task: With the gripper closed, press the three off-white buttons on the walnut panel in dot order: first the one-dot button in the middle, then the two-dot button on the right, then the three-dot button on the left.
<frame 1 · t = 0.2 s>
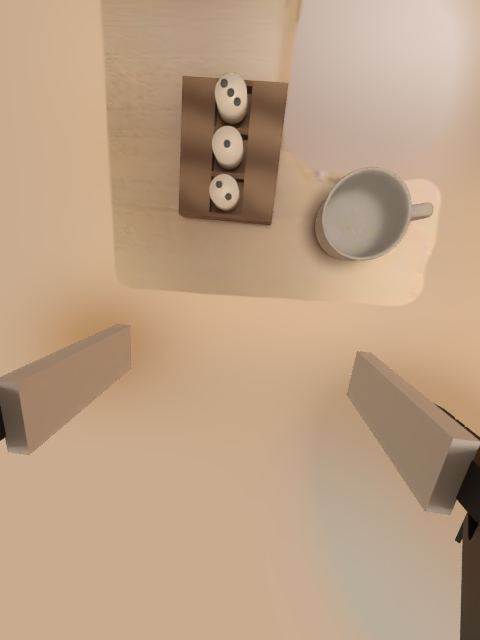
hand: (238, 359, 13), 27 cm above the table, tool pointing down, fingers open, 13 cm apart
button two: (225, 193, 33), point 4 cm above the table, slide at 0.0 cm
button one: (228, 148, 32), point 4 cm above the table, slide at 0.0 cm
teacup: (354, 225, 36), on the table
button three: (231, 99, 30), point 4 cm above the table, slide at 0.0 cm
panel: (231, 160, 35), on the table
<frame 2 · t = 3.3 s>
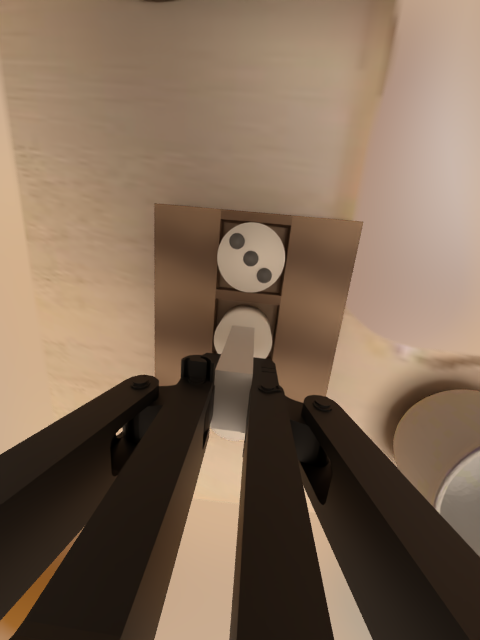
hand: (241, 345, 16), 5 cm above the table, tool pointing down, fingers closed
button two: (236, 406, 18), point 4 cm above the table, slide at 0.0 cm
button one: (243, 335, 17), point 3 cm above the table, slide at 0.8 cm, touching gripper
teacup: (454, 425, 21), on the table
button three: (251, 258, 15), point 4 cm above the table, slide at 0.0 cm
panel: (245, 324, 20), on the table
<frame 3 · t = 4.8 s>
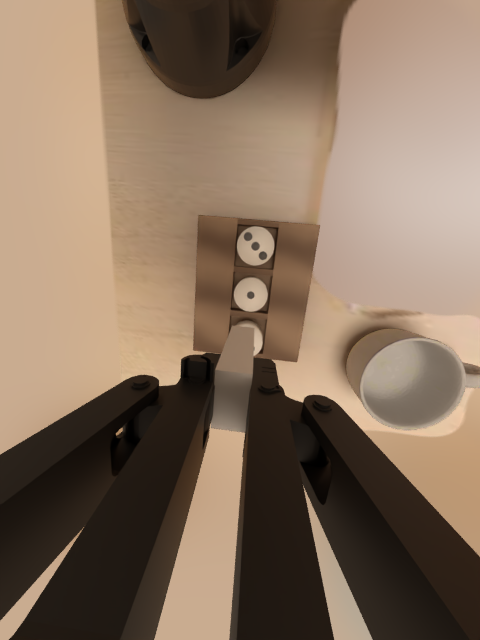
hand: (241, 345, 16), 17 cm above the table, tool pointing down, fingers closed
button two: (246, 338, 29), point 4 cm above the table, slide at 0.0 cm
button one: (251, 293, 29), point 3 cm above the table, slide at 1.3 cm
teacup: (388, 357, 33), on the table
button three: (255, 246, 26), point 4 cm above the table, slide at 0.0 cm
panel: (251, 290, 31), on the table
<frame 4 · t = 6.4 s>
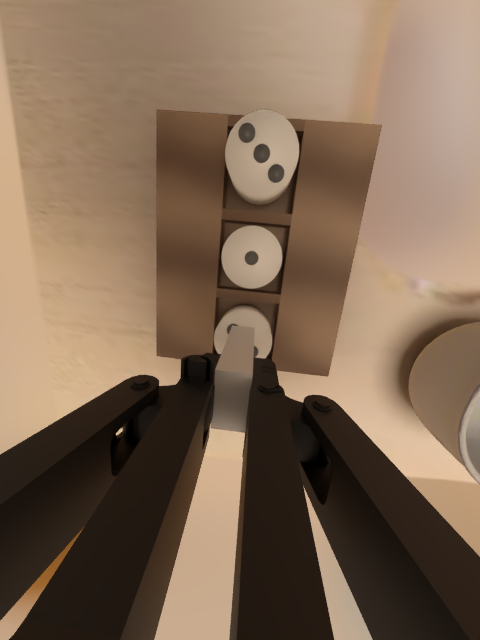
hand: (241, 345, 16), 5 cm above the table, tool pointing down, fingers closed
button two: (243, 334, 17), point 3 cm above the table, slide at 0.5 cm, touching gripper
button one: (252, 258, 17), point 3 cm above the table, slide at 1.3 cm
teacup: (471, 368, 20), on the table
button three: (261, 163, 14), point 4 cm above the table, slide at 0.0 cm
panel: (252, 258, 19), on the table
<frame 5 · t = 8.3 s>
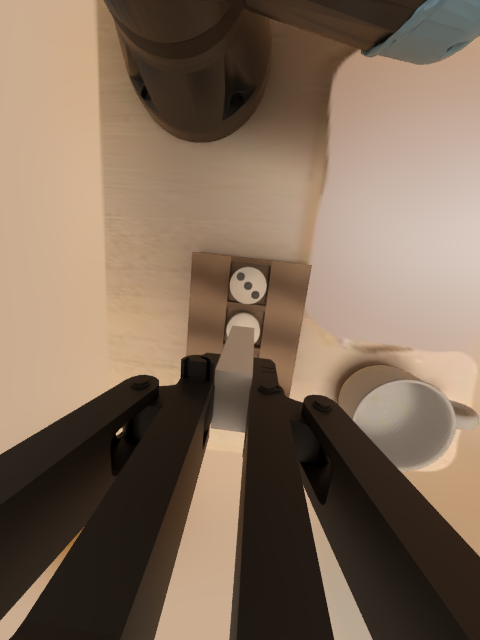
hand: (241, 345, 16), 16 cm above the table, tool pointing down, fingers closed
button one: (243, 328, 29), point 3 cm above the table, slide at 1.3 cm
teacup: (380, 391, 33), on the table
button three: (248, 285, 27), point 4 cm above the table, slide at 0.0 cm
panel: (244, 323, 32), on the table
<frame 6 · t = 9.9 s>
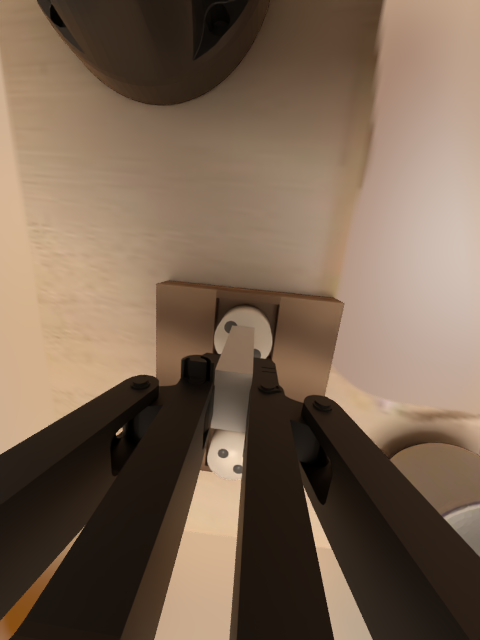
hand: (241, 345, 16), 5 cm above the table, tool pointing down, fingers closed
button two: (232, 448, 21), point 3 cm above the table, slide at 1.3 cm
teacup: (433, 470, 23), on the table
button three: (244, 335, 17), point 3 cm above the table, slide at 0.5 cm, touching gripper
panel: (240, 379, 22), on the table
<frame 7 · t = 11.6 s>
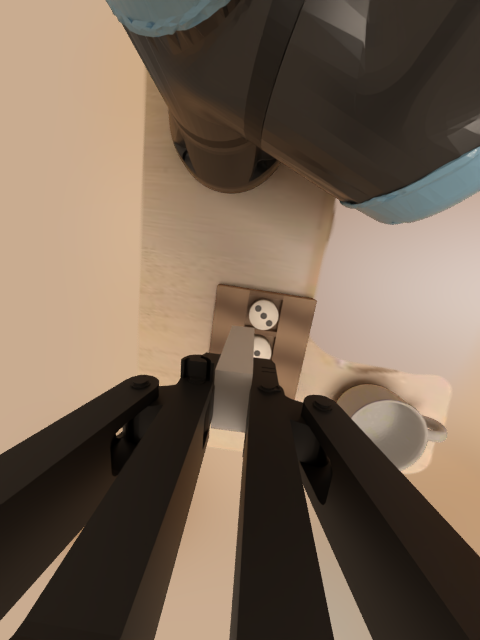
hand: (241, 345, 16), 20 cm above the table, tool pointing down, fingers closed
button one: (257, 349, 34), point 3 cm above the table, slide at 1.3 cm
teacup: (369, 405, 38), on the table
button three: (263, 313, 33), point 3 cm above the table, slide at 1.3 cm
panel: (256, 344, 37), on the table
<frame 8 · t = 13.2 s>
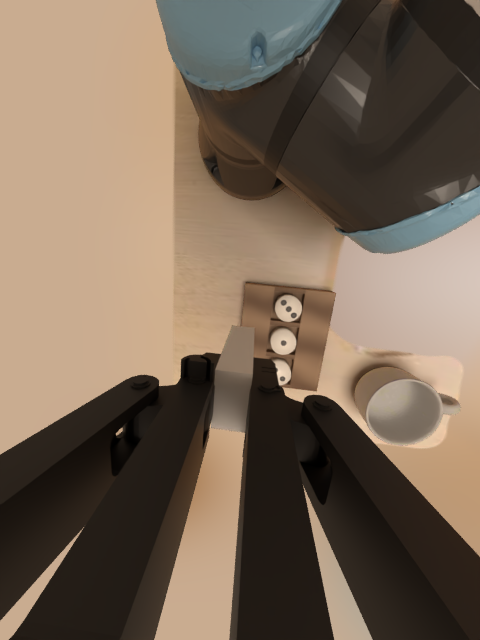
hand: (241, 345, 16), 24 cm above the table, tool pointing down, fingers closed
button two: (278, 370, 40), point 3 cm above the table, slide at 1.3 cm
button one: (282, 340, 38), point 3 cm above the table, slide at 1.3 cm
teacup: (386, 386, 42), on the table
button three: (287, 307, 37), point 3 cm above the table, slide at 1.3 cm
panel: (281, 335, 41), on the table
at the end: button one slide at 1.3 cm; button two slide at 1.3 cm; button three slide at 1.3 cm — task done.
